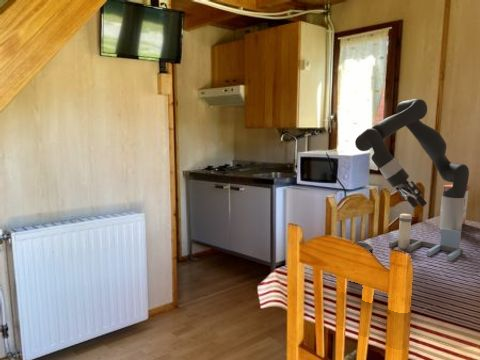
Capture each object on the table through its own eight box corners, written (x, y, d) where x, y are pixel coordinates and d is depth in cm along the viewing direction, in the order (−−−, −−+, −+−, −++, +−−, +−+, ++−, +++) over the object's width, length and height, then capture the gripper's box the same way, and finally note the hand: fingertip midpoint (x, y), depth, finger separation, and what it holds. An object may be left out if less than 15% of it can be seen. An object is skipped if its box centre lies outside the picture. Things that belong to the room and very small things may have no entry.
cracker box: (449, 227, 197) (452, 186, 194) (438, 224, 202) (441, 185, 199) (466, 224, 203) (469, 185, 200) (455, 221, 209) (458, 183, 206)
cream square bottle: (394, 245, 165) (397, 213, 164) (405, 245, 166) (407, 213, 164) (401, 249, 161) (403, 216, 159) (412, 248, 161) (414, 216, 159)
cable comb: (400, 240, 173) (402, 220, 172) (463, 253, 156) (465, 232, 154) (387, 246, 164) (388, 225, 163) (452, 261, 146) (454, 238, 145)
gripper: (407, 164, 146) (435, 199, 144) (395, 169, 160) (420, 201, 158) (391, 175, 146) (419, 210, 144) (380, 180, 160) (405, 212, 158)
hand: (420, 205), depth 151 cm, fingers open, 8 cm apart
